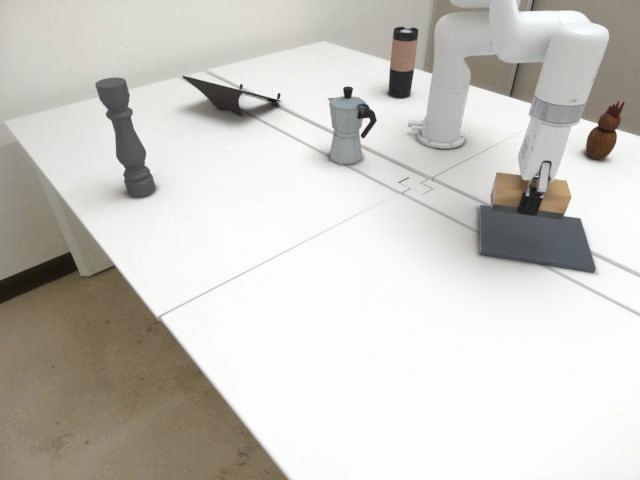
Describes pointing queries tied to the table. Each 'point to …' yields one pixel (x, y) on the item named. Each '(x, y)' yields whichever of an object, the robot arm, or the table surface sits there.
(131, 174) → the candle holder
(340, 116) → the coffee maker
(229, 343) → the table surface
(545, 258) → the slate board
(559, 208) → the scrub brush
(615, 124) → the wooden figurine
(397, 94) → the travel mug
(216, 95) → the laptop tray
